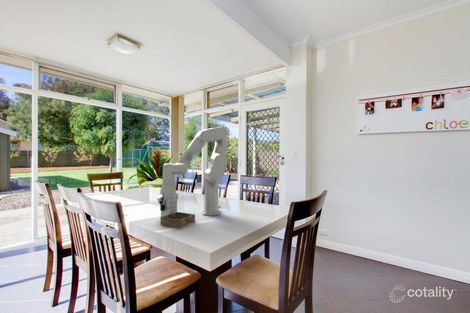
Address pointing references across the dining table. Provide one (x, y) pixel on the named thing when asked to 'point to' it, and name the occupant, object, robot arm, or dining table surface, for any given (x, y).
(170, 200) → the supplement box
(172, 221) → the wooden shadow box
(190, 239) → the dining table surface
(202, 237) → the dining table surface
